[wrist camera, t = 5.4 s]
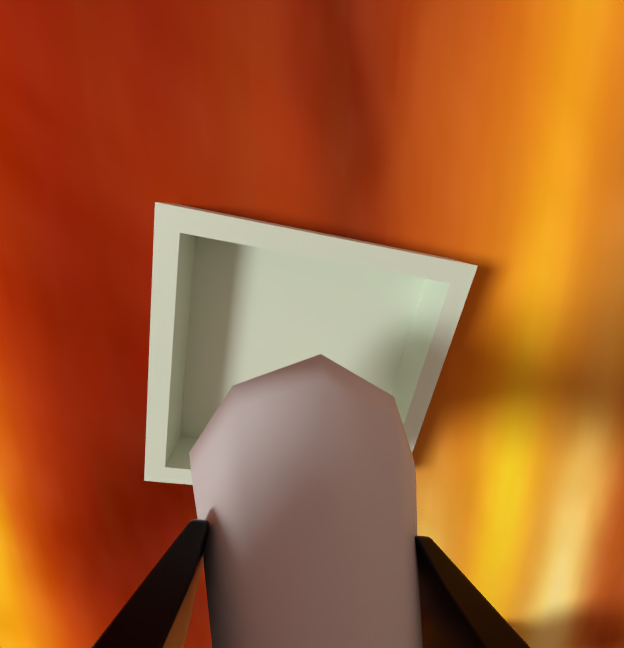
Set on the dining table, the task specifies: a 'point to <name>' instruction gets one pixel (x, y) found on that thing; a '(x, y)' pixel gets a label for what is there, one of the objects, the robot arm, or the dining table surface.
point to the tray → (285, 319)
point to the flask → (308, 513)
